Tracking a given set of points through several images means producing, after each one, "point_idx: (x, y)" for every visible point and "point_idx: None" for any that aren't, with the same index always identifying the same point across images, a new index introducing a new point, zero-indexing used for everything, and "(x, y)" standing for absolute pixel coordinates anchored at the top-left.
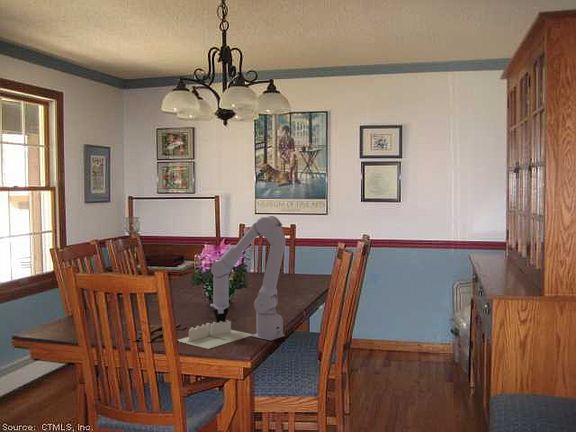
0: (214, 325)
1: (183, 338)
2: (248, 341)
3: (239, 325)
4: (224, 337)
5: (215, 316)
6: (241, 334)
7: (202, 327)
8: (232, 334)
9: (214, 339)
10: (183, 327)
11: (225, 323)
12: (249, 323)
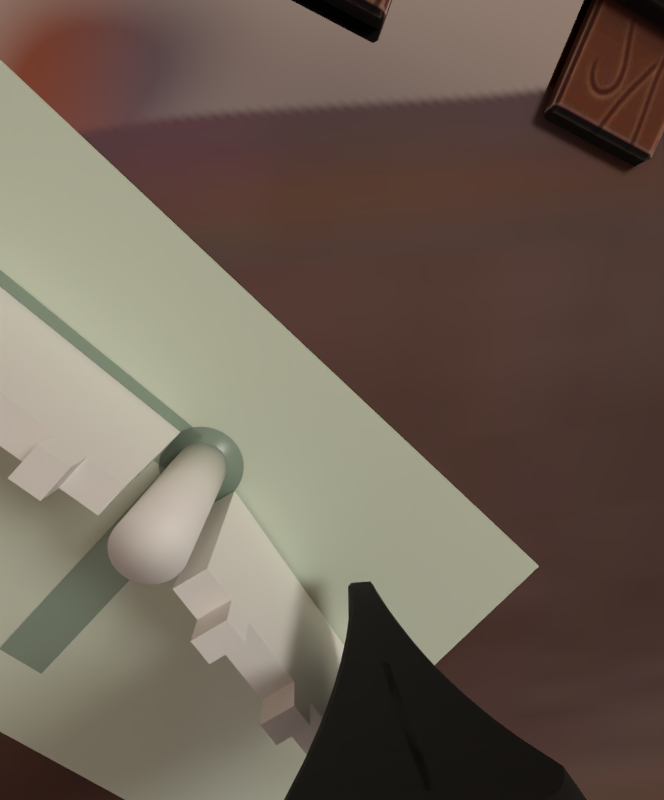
0: (203, 608)
1: (83, 151)
2: None
3: (600, 708)
4: (128, 633)
5: (322, 725)
6: (239, 767)
7: (11, 448)
8: (248, 692)
9: (40, 543)
10: (632, 113)
11: (306, 736)
12: (646, 776)
